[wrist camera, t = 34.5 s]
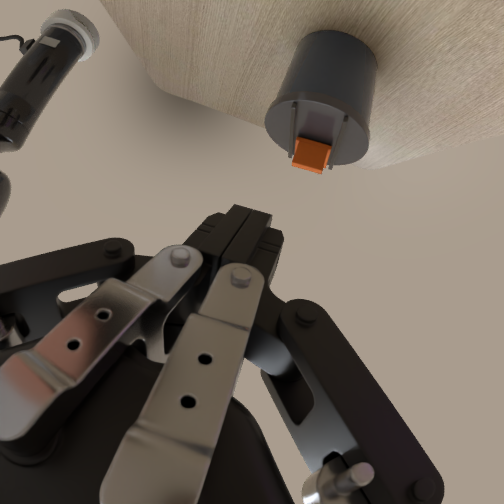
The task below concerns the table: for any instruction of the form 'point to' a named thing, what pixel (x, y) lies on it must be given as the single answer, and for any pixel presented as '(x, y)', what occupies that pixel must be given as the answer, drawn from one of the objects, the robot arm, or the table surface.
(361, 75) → the travel cup
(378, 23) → the table surface
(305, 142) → the lid slider
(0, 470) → the robot arm
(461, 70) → the table surface
